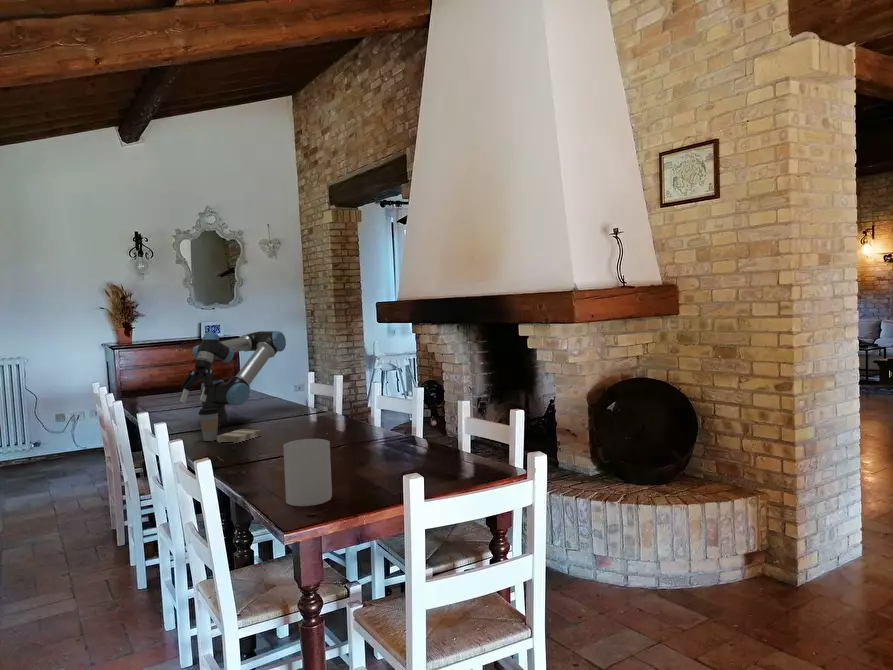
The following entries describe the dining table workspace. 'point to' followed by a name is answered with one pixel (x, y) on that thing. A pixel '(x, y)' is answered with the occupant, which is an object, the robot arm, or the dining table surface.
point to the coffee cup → (209, 423)
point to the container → (307, 472)
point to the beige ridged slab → (238, 435)
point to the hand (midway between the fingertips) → (192, 401)
